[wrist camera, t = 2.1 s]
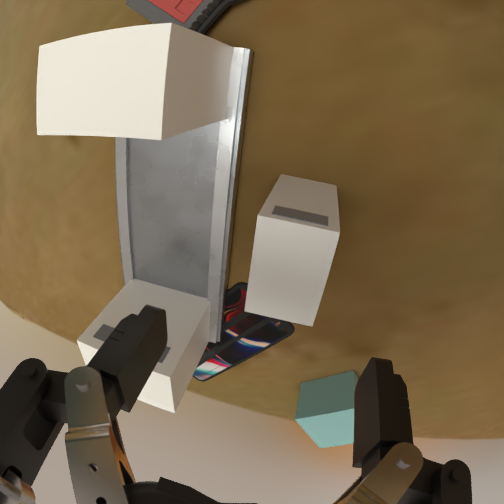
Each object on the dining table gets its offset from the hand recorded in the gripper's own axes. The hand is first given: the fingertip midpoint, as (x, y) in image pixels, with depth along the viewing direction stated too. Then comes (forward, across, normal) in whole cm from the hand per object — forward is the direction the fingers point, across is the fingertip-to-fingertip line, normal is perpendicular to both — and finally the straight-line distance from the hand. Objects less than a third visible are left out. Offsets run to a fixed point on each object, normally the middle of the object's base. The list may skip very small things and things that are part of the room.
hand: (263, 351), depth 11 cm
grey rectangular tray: (+14, +10, +1) cm, 17 cm away
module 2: (+12, +10, +11) cm, 19 cm away
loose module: (+14, 0, 0) cm, 14 cm away
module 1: (+12, +10, -9) cm, 18 cm away
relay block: (+11, -7, +17) cm, 21 cm away
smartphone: (+14, +5, +15) cm, 21 cm away
